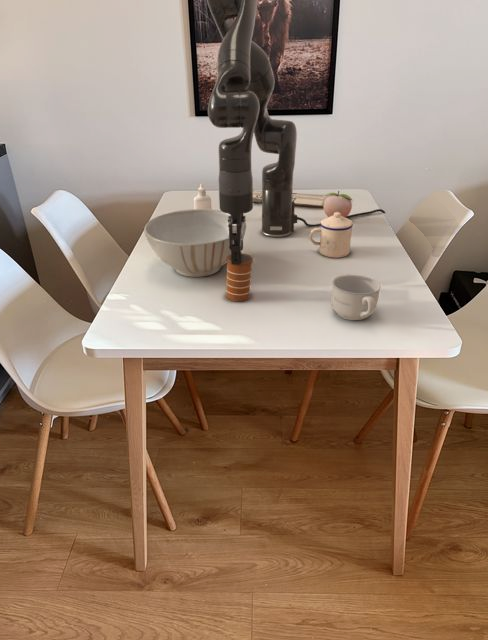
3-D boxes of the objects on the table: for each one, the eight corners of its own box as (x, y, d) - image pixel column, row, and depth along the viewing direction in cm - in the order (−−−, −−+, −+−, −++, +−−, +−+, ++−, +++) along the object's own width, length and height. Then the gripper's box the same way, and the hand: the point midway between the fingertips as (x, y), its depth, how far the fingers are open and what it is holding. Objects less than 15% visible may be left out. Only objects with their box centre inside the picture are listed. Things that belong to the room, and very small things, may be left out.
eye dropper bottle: (209, 222, 184) (208, 186, 178) (193, 221, 185) (191, 185, 179) (213, 218, 188) (211, 182, 181) (197, 217, 189) (195, 181, 182)
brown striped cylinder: (249, 302, 136) (223, 300, 136) (251, 291, 141) (225, 289, 141) (252, 264, 130) (225, 262, 130) (253, 254, 136) (227, 252, 136)
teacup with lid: (347, 246, 166) (350, 207, 160) (352, 258, 158) (356, 218, 152) (306, 246, 166) (308, 208, 159) (310, 259, 158) (312, 219, 152)
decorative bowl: (209, 298, 138) (207, 252, 132) (128, 274, 150) (122, 231, 144) (264, 260, 157) (264, 218, 151) (188, 242, 169) (185, 203, 163)
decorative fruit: (319, 224, 182) (321, 193, 177) (324, 216, 189) (326, 186, 183) (348, 226, 180) (351, 196, 174) (352, 218, 186) (355, 188, 181)
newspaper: (329, 199, 204) (329, 190, 202) (325, 210, 194) (325, 200, 192) (235, 194, 211) (235, 184, 209) (226, 204, 201) (226, 194, 199)
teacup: (325, 304, 135) (327, 273, 130) (369, 302, 135) (373, 271, 131) (338, 333, 123) (341, 301, 119) (386, 331, 124) (391, 298, 119)
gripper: (251, 198, 118) (252, 269, 127) (253, 179, 130) (254, 245, 139) (216, 198, 118) (219, 269, 127) (221, 179, 130) (224, 245, 139)
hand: (237, 256), depth 133 cm, fingers open, 8 cm apart
